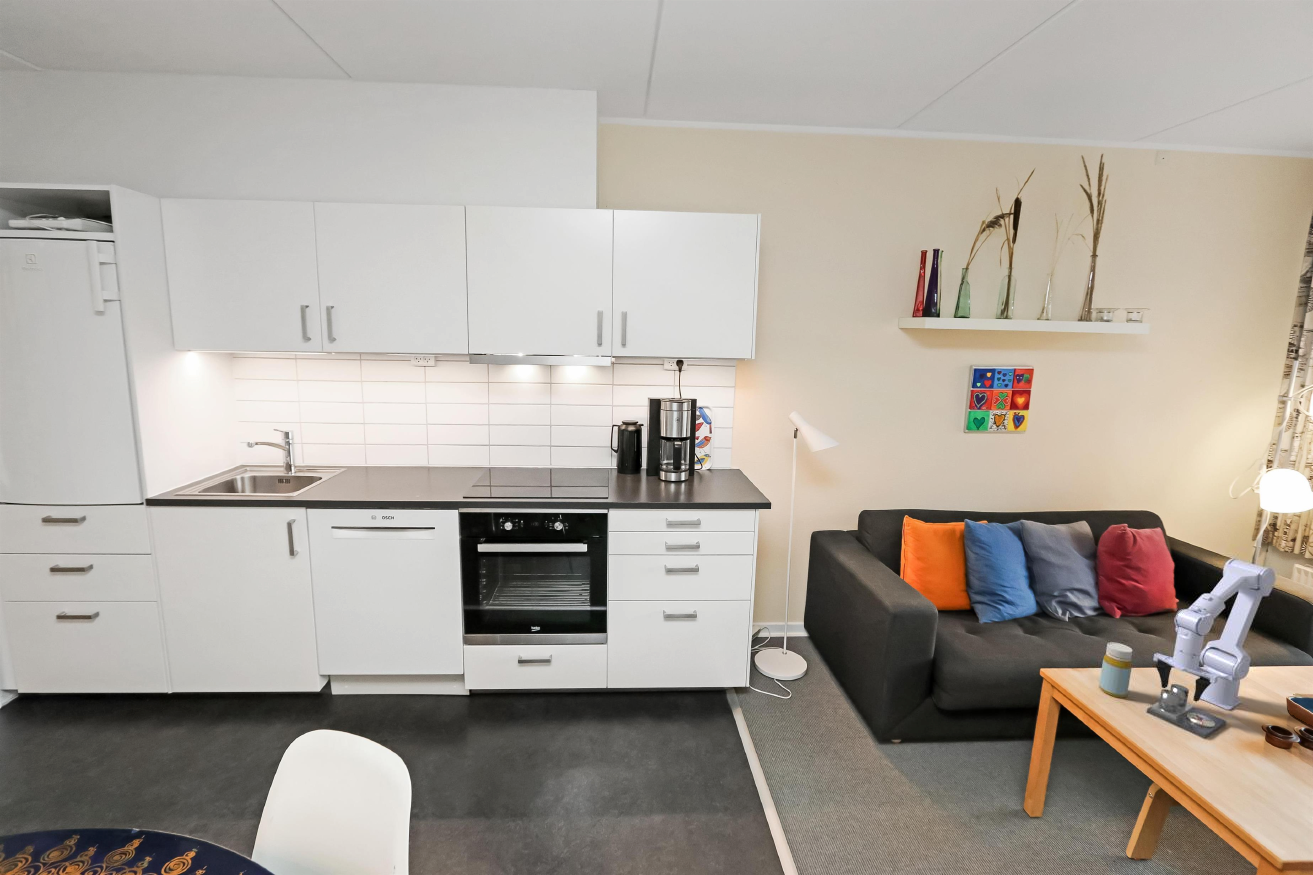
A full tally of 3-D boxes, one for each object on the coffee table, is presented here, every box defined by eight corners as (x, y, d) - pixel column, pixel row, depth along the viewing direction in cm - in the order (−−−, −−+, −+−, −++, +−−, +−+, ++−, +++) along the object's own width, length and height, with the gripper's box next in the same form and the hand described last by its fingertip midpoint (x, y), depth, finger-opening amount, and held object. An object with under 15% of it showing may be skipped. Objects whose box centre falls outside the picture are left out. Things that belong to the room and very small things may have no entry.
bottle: (1098, 683, 192) (1105, 639, 190) (1126, 691, 188) (1133, 646, 186) (1098, 692, 187) (1106, 647, 185) (1127, 701, 183) (1134, 655, 181)
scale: (1168, 700, 184) (1169, 693, 184) (1225, 724, 172) (1227, 717, 172) (1146, 712, 177) (1147, 705, 177) (1204, 738, 166) (1206, 731, 165)
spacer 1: (1156, 707, 176) (1158, 691, 175) (1161, 703, 178) (1164, 687, 178) (1173, 714, 173) (1175, 698, 172) (1178, 710, 175) (1181, 694, 174)
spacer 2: (1165, 700, 180) (1167, 684, 179) (1174, 698, 181) (1177, 683, 180) (1180, 707, 176) (1182, 692, 175) (1189, 706, 177) (1192, 690, 177)
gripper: (1151, 642, 181) (1144, 684, 183) (1213, 665, 168) (1205, 710, 170) (1162, 637, 184) (1155, 678, 186) (1224, 659, 172) (1215, 703, 174)
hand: (1180, 693), depth 179 cm, fingers open, 7 cm apart
